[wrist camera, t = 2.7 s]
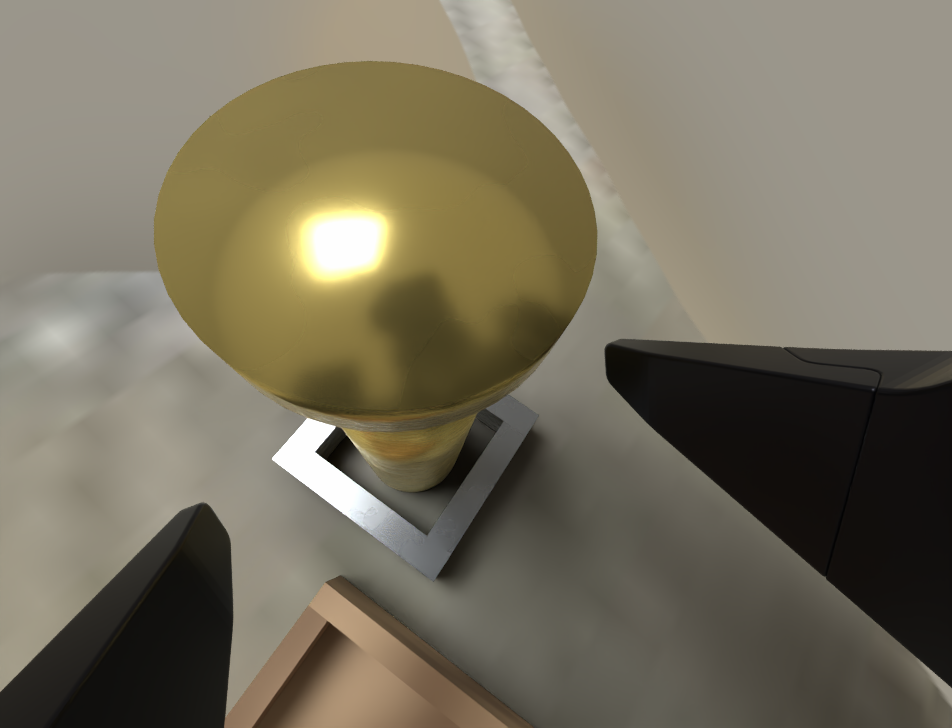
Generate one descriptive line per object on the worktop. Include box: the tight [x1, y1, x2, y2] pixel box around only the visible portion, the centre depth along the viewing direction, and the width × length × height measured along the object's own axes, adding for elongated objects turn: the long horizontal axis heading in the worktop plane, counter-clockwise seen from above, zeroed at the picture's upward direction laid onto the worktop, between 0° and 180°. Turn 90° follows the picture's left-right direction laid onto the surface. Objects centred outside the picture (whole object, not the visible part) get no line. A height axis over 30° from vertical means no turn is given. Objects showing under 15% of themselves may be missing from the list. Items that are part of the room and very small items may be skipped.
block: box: [272, 395, 539, 582], centre depth 18 cm, size 8×8×2 cm
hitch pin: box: [154, 61, 597, 492], centre depth 12 cm, size 5×5×15 cm
